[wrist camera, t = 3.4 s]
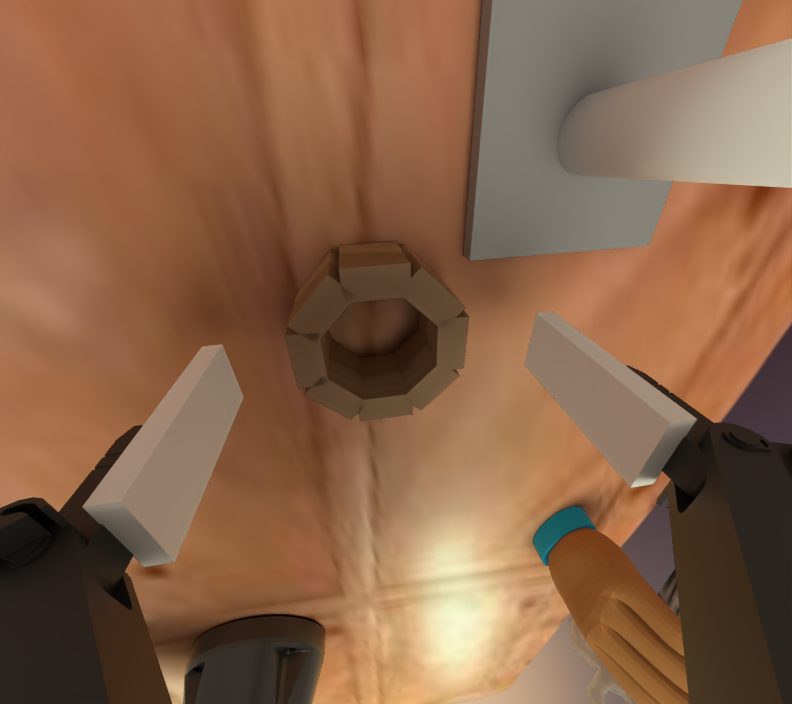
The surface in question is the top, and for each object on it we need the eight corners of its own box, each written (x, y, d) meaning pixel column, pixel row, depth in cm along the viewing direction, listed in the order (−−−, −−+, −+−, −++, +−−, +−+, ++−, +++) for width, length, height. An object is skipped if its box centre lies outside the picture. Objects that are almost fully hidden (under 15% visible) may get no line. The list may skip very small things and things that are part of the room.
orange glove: (561, 559, 39) (668, 753, 26) (512, 562, 37) (602, 771, 24) (615, 500, 33) (788, 712, 20) (561, 500, 31) (712, 731, 18)
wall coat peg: (463, 255, 16) (609, 367, 7) (484, -26, 11) (1077, -805, 2) (633, 241, 17) (940, 325, 9) (726, -22, 12) (1794, -530, 3)
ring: (314, 381, 19) (308, 428, 16) (284, 249, 15) (268, 274, 12) (440, 366, 20) (460, 407, 17) (445, 237, 16) (474, 257, 12)
